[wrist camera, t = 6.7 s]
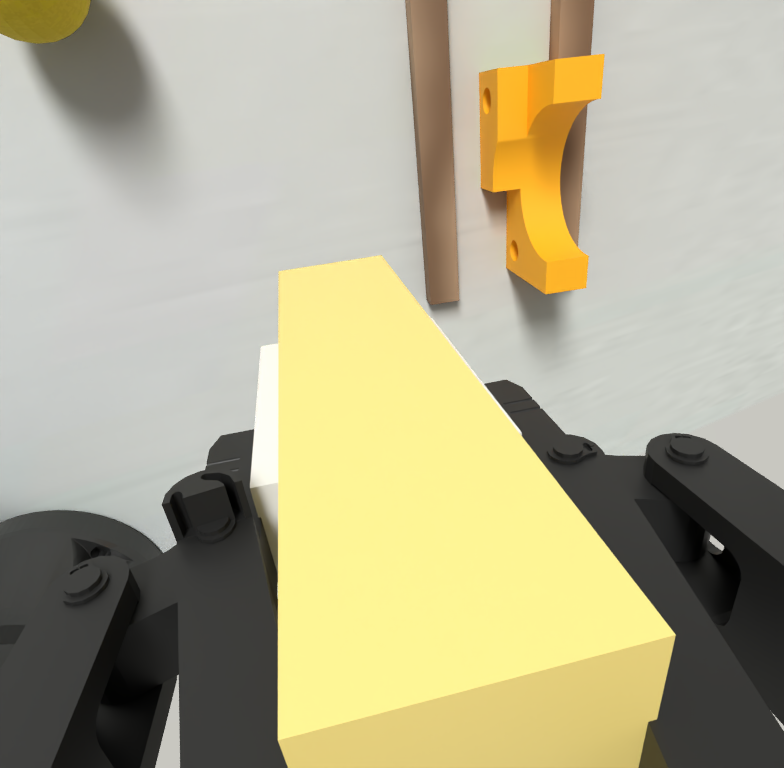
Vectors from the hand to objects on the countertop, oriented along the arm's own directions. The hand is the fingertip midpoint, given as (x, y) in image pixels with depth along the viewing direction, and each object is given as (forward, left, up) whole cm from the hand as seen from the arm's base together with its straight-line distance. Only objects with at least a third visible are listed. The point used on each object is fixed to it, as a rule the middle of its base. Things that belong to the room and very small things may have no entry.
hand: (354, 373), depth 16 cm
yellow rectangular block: (0, 0, -4) cm, 4 cm away
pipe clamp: (+13, +2, -21) cm, 25 cm away
